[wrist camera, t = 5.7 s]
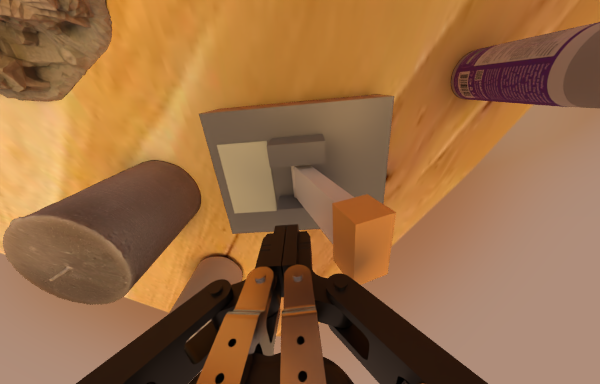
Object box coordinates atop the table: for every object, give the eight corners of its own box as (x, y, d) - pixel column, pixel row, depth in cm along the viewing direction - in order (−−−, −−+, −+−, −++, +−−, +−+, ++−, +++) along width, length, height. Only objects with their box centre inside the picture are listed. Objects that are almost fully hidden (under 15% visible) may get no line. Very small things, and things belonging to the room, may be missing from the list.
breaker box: (218, 109, 24) (182, 118, 17) (377, 94, 23) (409, 97, 16) (243, 212, 31) (224, 250, 23) (369, 204, 30) (390, 241, 22)
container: (483, 102, 23) (723, 122, 10) (443, 95, 23) (631, 108, 10) (507, 52, 21) (850, -7, 8) (463, 45, 21) (736, -28, 8)
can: (192, 255, 34) (141, 331, 24) (236, 250, 34) (204, 326, 23) (208, 286, 38) (169, 366, 27) (248, 283, 37) (225, 362, 26)
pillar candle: (168, 231, 32) (73, 332, 19) (114, 181, 29) (-51, 263, 15) (216, 202, 30) (147, 294, 17) (164, 144, 26) (22, 202, 13)
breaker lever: (284, 159, 21) (355, 224, 10) (306, 154, 22) (395, 212, 11) (289, 198, 23) (353, 287, 12) (309, 193, 24) (387, 273, 13)
